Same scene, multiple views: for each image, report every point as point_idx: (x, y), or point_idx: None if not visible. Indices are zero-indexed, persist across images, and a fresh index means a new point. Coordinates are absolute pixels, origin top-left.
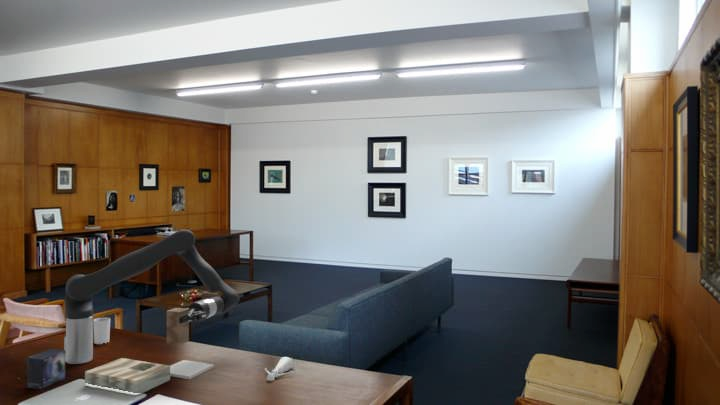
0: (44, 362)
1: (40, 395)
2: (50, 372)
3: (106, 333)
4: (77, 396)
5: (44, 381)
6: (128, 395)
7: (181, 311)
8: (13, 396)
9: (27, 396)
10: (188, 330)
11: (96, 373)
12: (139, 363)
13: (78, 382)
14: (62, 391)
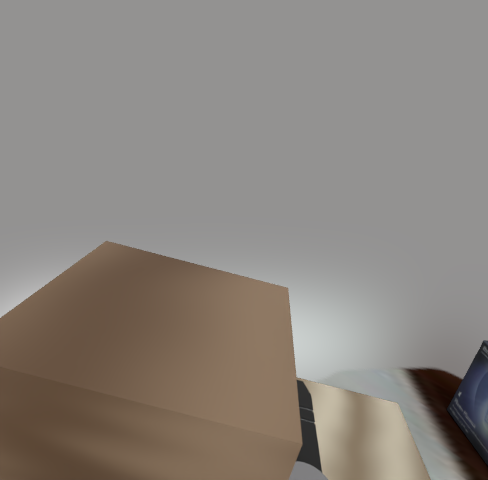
0: (481, 354)
1: (404, 381)
2: (478, 399)
3: None
4: (322, 380)
5: (457, 399)
6: None
7: (81, 261)
8: (444, 375)
9: (420, 376)
10: None
11: (349, 392)
12: None
13: (435, 471)
14: None
